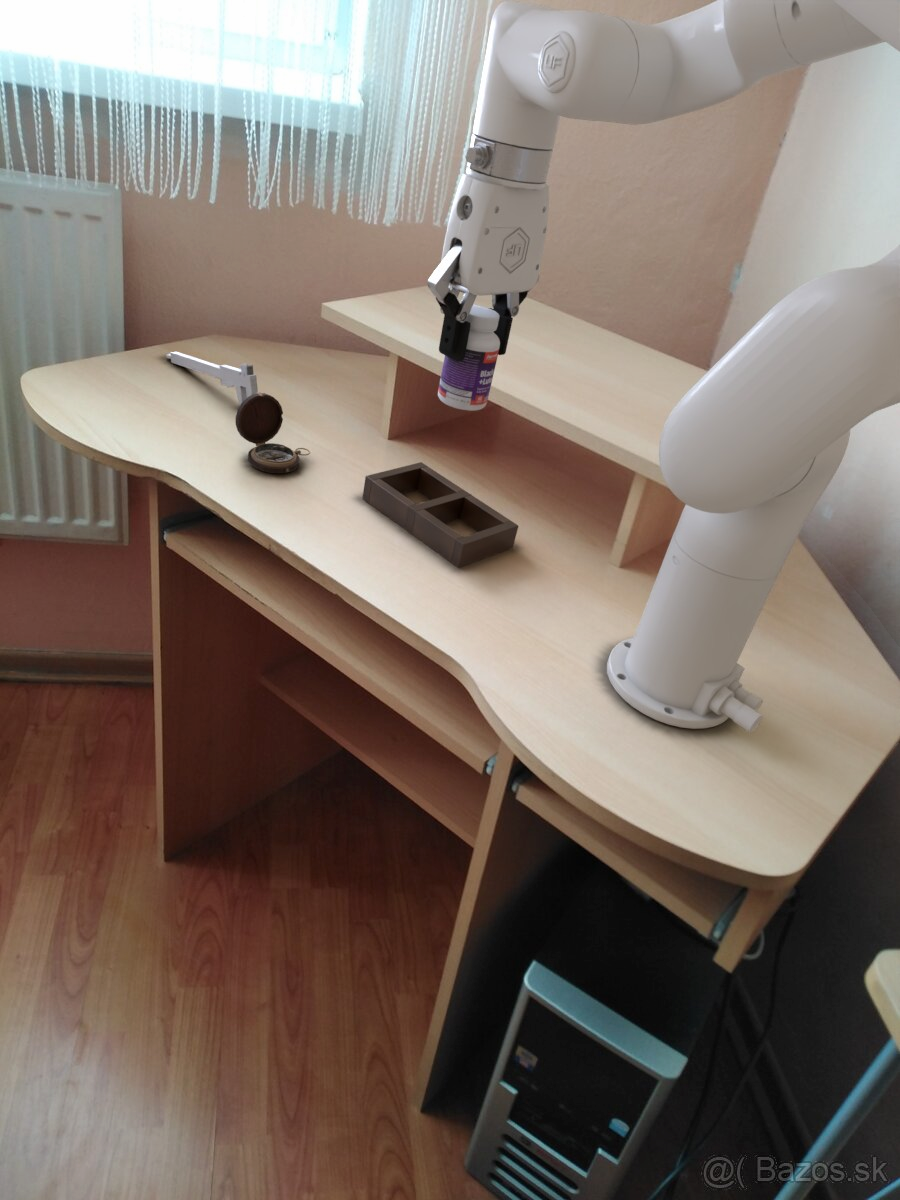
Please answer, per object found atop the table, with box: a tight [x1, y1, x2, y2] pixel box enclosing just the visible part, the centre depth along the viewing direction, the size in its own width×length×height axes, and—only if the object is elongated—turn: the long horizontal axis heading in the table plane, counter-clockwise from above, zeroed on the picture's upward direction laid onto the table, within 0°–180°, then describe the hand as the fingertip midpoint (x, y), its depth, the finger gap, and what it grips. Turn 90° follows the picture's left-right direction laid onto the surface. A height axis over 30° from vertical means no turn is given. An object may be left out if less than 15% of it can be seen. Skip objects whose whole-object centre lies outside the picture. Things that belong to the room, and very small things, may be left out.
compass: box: [235, 391, 311, 474], centre depth 107 cm, size 8×8×7 cm
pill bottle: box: [437, 304, 500, 412], centre depth 92 cm, size 5×5×10 cm
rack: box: [362, 461, 519, 569], centre depth 103 cm, size 17×9×3 cm, turn 44°
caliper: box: [165, 351, 259, 406], centre depth 121 cm, size 20×1×6 cm, turn 47°
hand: (472, 351), depth 92 cm, fingers closed on pill bottle, 5 cm apart
